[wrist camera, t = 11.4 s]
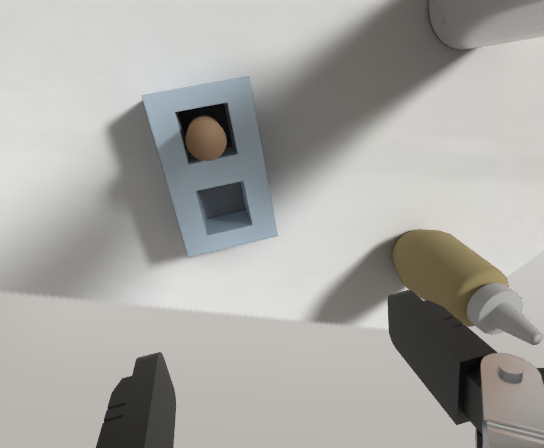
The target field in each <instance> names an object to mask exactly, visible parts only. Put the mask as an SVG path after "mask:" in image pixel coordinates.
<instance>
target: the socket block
mask: <svg viewBox="0 0 544 448" xmlns="http://www.w3.org/2000/svg"><path fill="white" fill-rule="evenodd" d="M142 98H143V102H144V105H145V109H146V112H147V116H148V119H149V123H150V126H151V130H152V133H153V136H154V140H155V143H156V147H157V150H158V154H159V157H160V161H161V164H162V168H163V171H164V175H165V178H166V182H167V185H168V189H169V192H170V195H171V199H172V202H173V206H174V209H175V213H176V216H177V220H178V223H179V227H180V230H181V234H182V237H183V241H184V244H185V248H186V251H187V254H188V257H192V256H196V255H201V254H205V253H209V252H213V251H217V250H221V249H226V248H230V247H234V246H238V245H242V244H247V243H251V242H255V241H259V240H263V239H267V238H272V237H276V236H278V234H277V229H276V223H275V217H274V212H273V206H272V201H271V195H270V190H269V184H268V179H267V173H266V167H265V162H264V156H263V151H262V145H261V140H260V134H259V129H258V123H257V117H256V112H255V106H254V101H253V95H252V90H251V84H250V78H249V76H246V77H241V78H235V79H229V80H224V81H218V82H213V83H207V84H202V85H196V86H191V87H185V88H179V89H174V90H168V91H163V92H157V93H152V94H146V95H142ZM221 103H224V107H225V112H226V116H227V121H228V126H229V131H230V135H231V140H232V145H233V147H231V148H226V149H225V150H224V152H223V153H222V155H221V156H220V157H218V158H217V159H215V160H212V161H202V160H199V159H197V158H195V157H194V156H193V155H191V156H190V155H189V152H188V149H187V146H186V140H185V136H184V132H183V128H182V124H181V120H180V116H179V113H178V112H179V111H184V110H189V109H195V108H200V107H205V106H211V105H216V104H221ZM236 182H240V183H241V188H242V193H243V197H244V202H245V207H246V210H244V211H240V212H235V213H231V214H227V215H222V216H218V217H213V218H209V219H206V218H205V214H204V210H203V206H202V202H201V198H200V194H199V190H203V189H208V188H213V187H217V186H222V185H226V184H231V183H236Z"/></svg>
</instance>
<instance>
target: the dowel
mask: <svg viewBox="0 0 544 448" xmlns="http://www.w3.org/2000/svg"><path fill="white" fill-rule="evenodd" d="M185 140H186V146H187V149H188V150H189V152H190V153H191V154H192V155H193V156H194V157H195V158H197V159H199V160H202V161H212V160H215V159H217V158H218V157H220V156H221V155H222V153H223V152H224V150H225V148H226V143H227V139H226V135H225V132H224V130H223V129H222V127H221V126H220V125H219V124H218V122H217V121H216V120H215V119H214V118H213V117H212V116H210V115H207V114H200V115H197V116H195V117H194V118H193V119H192V120H191V122H190V124H189V127H188V130H187V133H186V139H185Z"/></svg>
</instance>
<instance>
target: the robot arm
mask: <svg viewBox="0 0 544 448" xmlns="http://www.w3.org/2000/svg"><path fill="white" fill-rule="evenodd" d="M429 15H430V20H431V24H432V27H433V29H434V31H435V33H436V35H437V36H438V37H439V39H440V40H441V41H442V42H443V43H445V44H446V45H448V46H449V47H452V48H455V49H461V50H466V49H472V48H478V47H484V46H489V45H496V44H502V43H508V42H513V41H519V40H525V39H530V38H536V37H542V36H544V0H429ZM388 320H389V334H390V337H391V340H392V342H393V344H394V346H395V348H396V349H397V350H398V351H399V353H400V354H401V355H402V357H403V358H404V359H405V360H406V362H407V363H408V364H409V366H410V367H411V368H412V369H413V371H414V372H415V373H416V374H417V376H418V377H419V378H420V379H421V381H422V382H423V383H424V384H425V386H426V387H427V388H428V390H429V391H430V392H431V393H432V395H433V396H434V397H435V398H436V400H437V401H438V402H439V403H440V404H441V406H442V407H443V408H444V410H445V411H446V412H447V414H448V415H449V416H450V417H451V418H452V420H453V421H454V422H455V424H456V425H458V424H462V423H465V422H468V421H471V423H472V424H473V425H474V426H475V427H476V432H475V443H476V448H544V368H536V367H535V366H534V365H532V364H531V363H530V362H528V361H526V360H525V359H523V358H520V357H518V356H515V355H511V354H506V353H497V352H496V351H495V350H494V349H492V348H491V347H490V346H489V345H488V344H487V343H485V342H484V341H483V340H482V339H481V338H479V337H478V336H477V335H476V334H475V333H474V332H472V331H471V330H470V329H469V328H468V327H467V326H465V325H463V323H462V322H461V321H460V320H458V319H457V318H455V317H454V315H453V314H451V313H450V312H449V311H448V310H447V309H445V308H444V307H443V306H441V305H439V304H436V303H434V302H432V301H430V300H426V301H423V300H422V299H421V298H419V297H418V296H417V295H416V294H415V293H414V292H413V291H411V290H406V291H403V292H399V293H395V294H391V295H389V296H388ZM175 413H176V398H175V391H174V387H173V384H172V381H171V378H170V375H169V372H168V369H167V366H166V363H165V360H164V357H163V355H162V353H161V352H159V353H155V354H151V355H147V356H143V357H139V358H137V359H136V363H135V367H134V371H133V375H132V376H130V377H126V378H123V379H122V380H121V381H120V382H119V384H118V385H117V386H116V388H115V389H114V391H113V392H112V394H111V397H110V401H109V404H108V410H107V411H106V415H105V419H104V423H103V425H102V428H101V432H100V435H99V439H98V442H97V446H96V448H173V443H174V442H173V441H174V429H175Z"/></svg>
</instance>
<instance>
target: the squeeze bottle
mask: <svg viewBox="0 0 544 448" xmlns="http://www.w3.org/2000/svg"><path fill="white" fill-rule="evenodd" d="M392 259H393V262H394V265H395V267H396V270H397V272H398V275H399V277H400V280H401V282H402V284H403V285H405V286H406V287H407V288H408V289H409V290H411V291H413V292H414V293H415V294H416V295H418V296H419V297H420V298H422V299H423V300H425V301H426V300H430V301H432V302H434V303H436V304H439V305H441V306H443V307H444V308H445V309H447V310H448V311H449V312H450V313H451V314H453V315H454V317H455V318H457V319H458V320H460V321H461V322H462V323H463V325H465V326H469V327H470V326H476V327H478V328H479V329H480V330H482V331H483V332H484V333H486V334H491V335H492V334H498V333H502V332H503V331H504V332H507V333H509V334H511V335H513V336H515V337H517V338H519V339H521V340H523V341H526V342H528V343H530V344H532V345H536V344H538V343H540V342H541V340H542V338H543V335H542V333H541V332H540V331H539V330H538V329H537V328H536V327H535V326H534V325H533V324H532V323H531V322H530V321H529V320H528V319H527V318H526V317H525V316H524V315H523V314H522V313H521V312H522V307H523V303H522V298H521V297H520V296H519V295H518V293H516V292H515V291H513V290H512V289H510V288H509V285H508V281H507V278H506V277H505V275H504V274H503V273H502V272H501V271H500V270H498V269H497V268H496V267H494V266H493V265H491V264H490V263H489V262H487V261H486V260H485V259H483V258H482V257H481V256H479V255H478V254H476V253H475V252H474V251H472V250H471V249H470V248H468V247H467V246H466V245H464V244H463V243H462V242H460V241H459V240H457V239H456V238H455V237H453V236H452V235H451V234H448V233H445V232H442V231H436V230H421V229H419V230H411V231H409V232H407V233H405V234H404V235H402V236H401V237H400V238H399V240H398V241H397V242H396V244H395V246H394V248H393V252H392Z"/></svg>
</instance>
